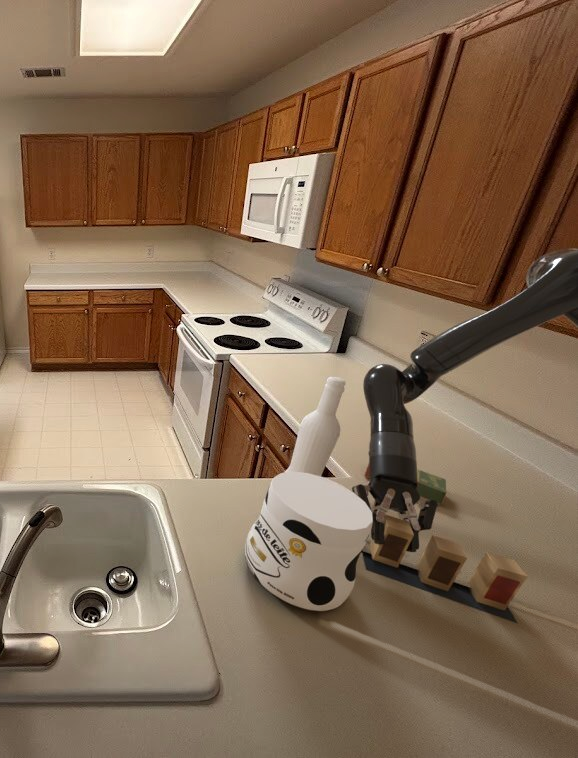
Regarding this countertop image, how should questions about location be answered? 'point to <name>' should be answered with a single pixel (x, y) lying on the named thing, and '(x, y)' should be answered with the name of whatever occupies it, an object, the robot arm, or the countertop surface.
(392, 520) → the tan wooden block
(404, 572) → the word mat
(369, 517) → the milk container
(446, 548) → the brown panel wooden block
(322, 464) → the bottle
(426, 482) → the carton
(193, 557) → the countertop surface
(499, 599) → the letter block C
